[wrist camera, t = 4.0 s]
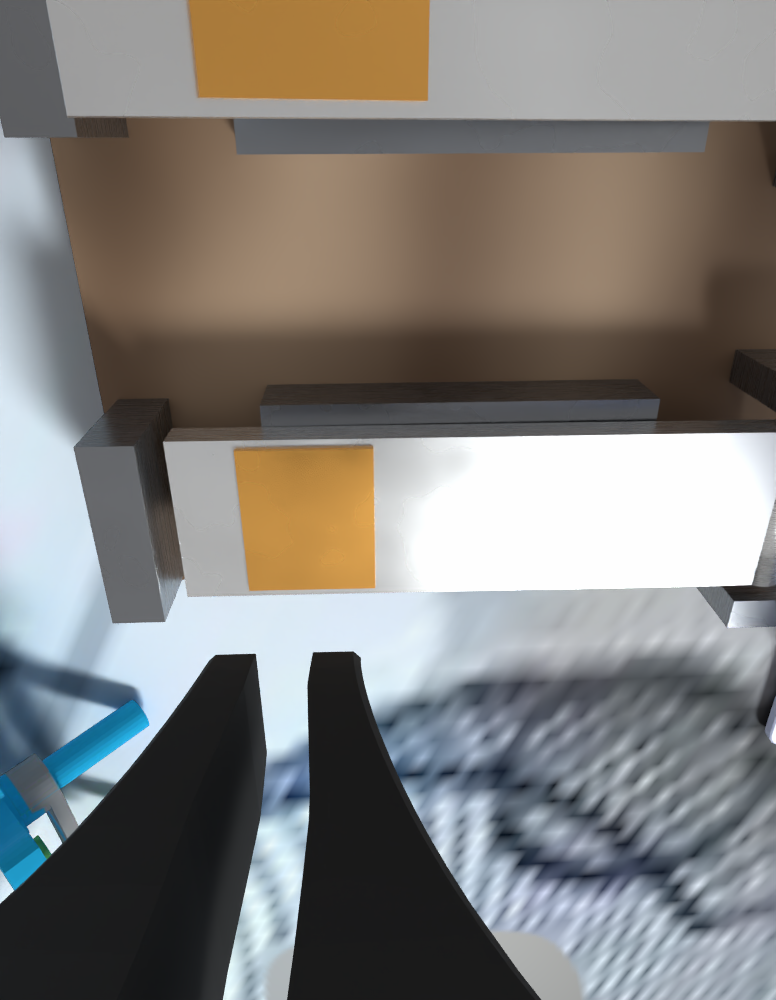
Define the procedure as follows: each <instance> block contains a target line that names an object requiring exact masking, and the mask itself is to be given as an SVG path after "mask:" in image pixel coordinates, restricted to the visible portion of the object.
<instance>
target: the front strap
mask: <svg viewBox="0 0 776 1000" xmlns="http://www.w3.org/2000/svg"><path fill="white" fill-rule="evenodd" d="M46 5H47V10H48V16H49V21H50V26H51V32H52V37H53V43H54V48H55V53H56V59H57V64H58V70H59V75H60V81H61V86H62V91H63V97H64V102H65V108H66V113H67V118H208V119H382V120H556V121H729V122H776V0H46Z"/></svg>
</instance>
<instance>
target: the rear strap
mask: <svg viewBox="0 0 776 1000" xmlns="http://www.w3.org/2000/svg"><path fill="white" fill-rule="evenodd" d="M163 445H164V451H165V458H166V464H167V470H168V476H169V483H170V489H171V495H172V501H173V508H174V514H175V520H176V527H177V533H178V539H179V545H180V552H181V558H182V564H183V570H184V577H185V583H186V589H187V595H188V597H200V596H248V595H297V594H345V593H394V592H442V591H490V590H539V589H587V588H635V587H684V586H732V585H753V586H758V587H771V586H774V585H776V419H766V420H698V421H630V422H562V423H494V424H425V425H357V426H289V427H221V428H172V429H171V430H170V432H169V433H168V435H167V436H166V438H165V439H164V441H163Z"/></svg>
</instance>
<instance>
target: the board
mask: <svg viewBox="0 0 776 1000" xmlns="http://www.w3.org/2000/svg"><path fill="white" fill-rule="evenodd" d="M126 122H127V128H128V135H129V138H50V141H51V146H52V151H53V156H54V161H55V166H56V171H57V176H58V182H59V187H60V192H61V197H62V202H63V207H64V212H65V217H66V222H67V227H68V232H69V237H70V243H71V248H72V253H73V258H74V263H75V268H76V273H77V278H78V283H79V288H80V293H81V298H82V304H83V309H84V314H85V319H86V324H87V329H88V334H89V339H90V344H91V349H92V354H93V359H94V365H95V370H96V375H97V380H98V385H99V390H100V395H101V400H102V405H103V410H104V414H105V413H106V412H107V411H108V410H109V408H110V407H111V406H112V405H113V404H114V403H115V402H116V401H117V400H118V399H153V398H168V399H169V405H170V412H171V418H172V425H173V428H221V427H261V415H260V403H261V400H262V398H263V395H264V392H265V390H266V387H267V385H281V384H346V383H411V382H475V381H540V380H604V379H638V380H639V381H640V382H641V383H642V384H643V385H645V386H646V387H647V388H648V389H649V390H650V391H652V392H653V393H654V394H655V395H656V396H657V397H659V398H660V404H659V409H658V415H657V420H656V421H698V420H766V419H776V412H775V411H773V410H772V409H770V408H768V407H767V406H765V405H764V404H762V403H761V402H759V401H758V400H756V399H755V398H753V397H752V396H750V395H749V394H747V393H745V392H744V391H742V390H741V389H739V388H738V387H736V386H735V385H733V384H732V383H730V382H729V377H730V373H731V368H732V364H733V359H734V355H735V350H736V349H776V187H773V186H772V184H773V179H774V175H775V170H776V122H729V121H710V124H709V129H708V135H707V141H706V146H705V152H648V153H453V154H257V155H237V151H236V140H235V129H234V119H208V118H126ZM184 579H185V577H184V576H183V578H182V580H184Z"/></svg>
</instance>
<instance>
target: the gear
mask: <svg viewBox="0 0 776 1000" xmlns="http://www.w3.org/2000/svg"><path fill="white" fill-rule="evenodd" d="M148 726H149V721H148V719H147V717H146V715H145V713H144V712H143V710H142V709H141V707H140V706H139V705H138V704H137V703H136V702H135V701H134V700H130V701H129V702H127V703H126V704H125V705H123V706H122V707H120V708H119V709H117V710H116V711H114V712H113V713H111V714H110V715H108V716H107V717H105V718H104V719H103V720H101V721H100V722H98V723H97V724H95V725H94V726H92V727H91V728H89V729H88V730H86V731H85V732H83V733H82V734H81V735H79V736H78V737H76V738H75V739H73V740H72V741H70V742H69V743H67V744H66V745H64V746H63V747H61V748H60V749H59V750H57V751H56V752H54V753H53V754H51V755H50V756H48V757H47V758H45V759H44V760H42V761H41V759H40V758H39V757H38V756H37V755H36V754H33V755H32V756H30V757H29V758H27V759H26V760H24V761H23V762H21V763H20V764H18V765H17V766H15V767H14V768H12V769H11V770H9V771H8V772H6V773H5V774H3V775H2V776H0V869H1V871H2V872H3V874H4V876H5V877H6V879H7V880H8V882H9V883H10V885H11V886H12V888H13V889H14V890H16V889H17V888H18V887H19V886H20V885H21V884H22V883H23V882H24V881H25V880H26V879H27V878H28V877H29V876H30V875H31V874H33V873H34V872H35V871H36V870H37V869H38V868H39V867H40V866H41V865H42V864H43V863H44V862H45V861H46V860H47V859H48V858H49V857H50V856H51V855H52V854H51V853H50V851H49V850H48V848H47V847H46V845H45V844H44V842H43V841H42V840H41V838H40V837H39V836H36V837H35V838H34V839H33V838H32V837H31V835H30V834H29V830H28V828H27V826H28V825H29V824H31V823H32V822H33V821H35V820H36V819H38V818H39V817H40V816H42V815H43V814H44V813H47V815H48V817H49V819H50V820H51V822H52V824H53V826H54V828H55V830H56V832H57V834H58V836H59V838H60V839H61V841H62V843H63V842H64V841H65V840H66V839H67V838H68V837H69V836H70V835H71V834H72V833H73V832H74V831H75V830H76V829H77V828H78V827H79V826H78V824H77V822H76V820H75V818H74V816H73V814H72V812H71V810H70V808H69V806H68V804H67V801H66V799H65V797H64V795H63V793H62V791H61V788H63V787H64V786H65V785H67V784H68V783H70V782H71V781H72V780H74V779H75V778H77V777H78V776H79V775H81V774H82V773H84V772H85V771H86V770H88V769H89V768H91V767H92V766H93V765H95V764H96V763H97V762H99V761H100V760H102V759H103V758H104V757H106V756H107V755H109V754H110V753H111V752H113V751H114V750H116V749H117V748H118V747H120V746H121V745H123V744H124V743H125V742H127V741H128V740H130V739H131V738H132V737H134V736H135V735H136V734H138V733H139V732H141V731H142V730H143V729H145V728H146V727H148Z"/></svg>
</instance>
